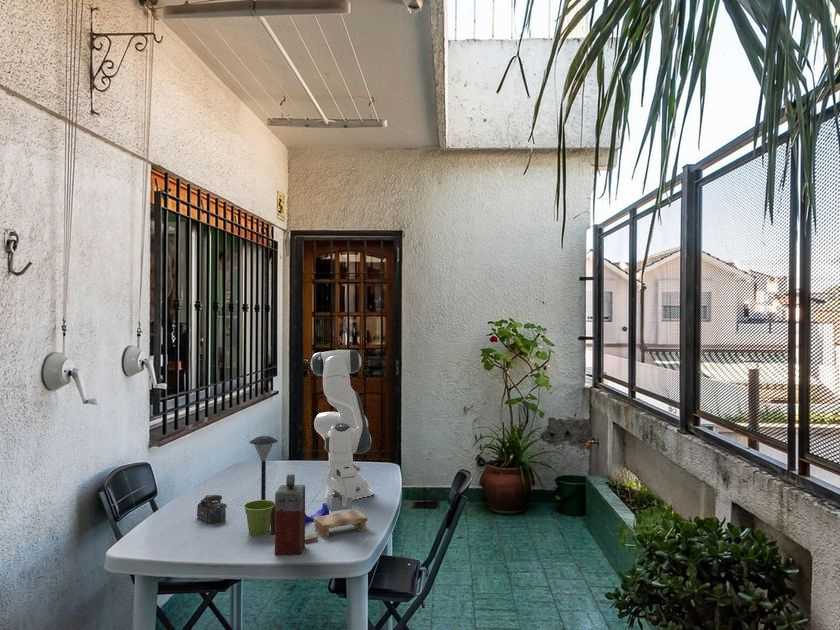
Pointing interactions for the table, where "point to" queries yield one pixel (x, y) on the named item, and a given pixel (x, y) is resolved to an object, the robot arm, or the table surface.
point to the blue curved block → (318, 513)
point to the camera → (212, 509)
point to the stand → (339, 521)
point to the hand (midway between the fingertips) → (340, 503)
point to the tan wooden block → (311, 538)
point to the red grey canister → (289, 518)
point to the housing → (337, 502)
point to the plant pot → (259, 516)
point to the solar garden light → (263, 457)
